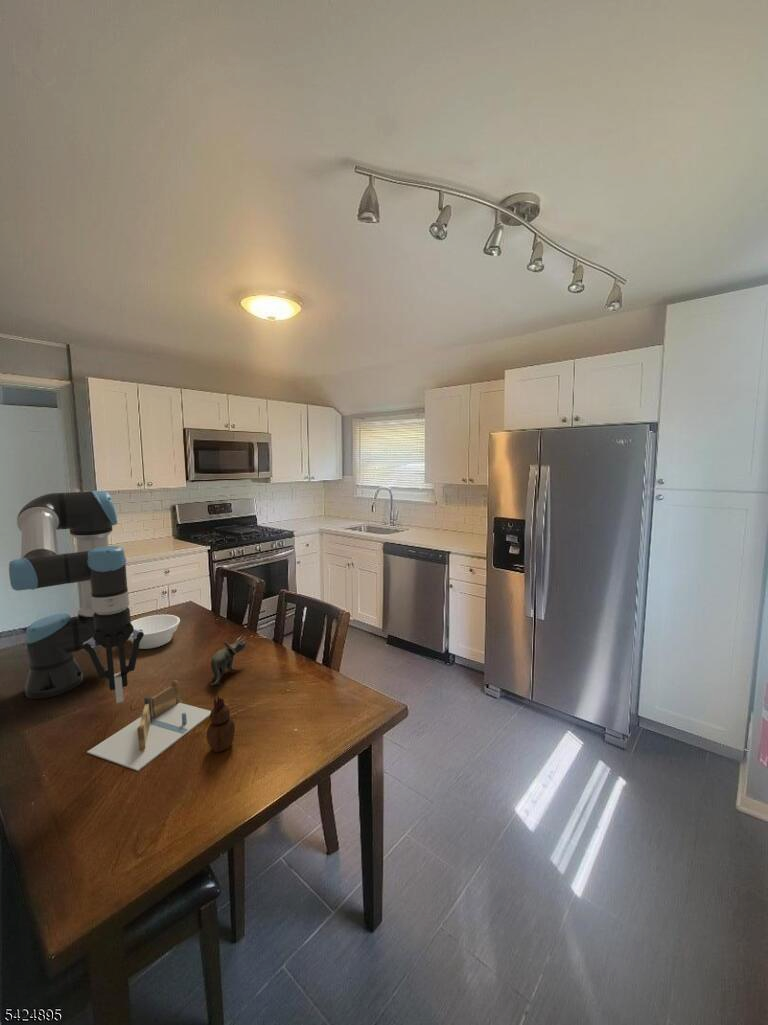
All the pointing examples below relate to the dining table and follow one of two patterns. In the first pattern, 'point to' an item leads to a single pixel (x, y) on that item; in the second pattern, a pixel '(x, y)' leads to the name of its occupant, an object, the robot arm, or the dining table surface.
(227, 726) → the wooden figurine
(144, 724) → the fence panel
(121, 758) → the card
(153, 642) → the bowl
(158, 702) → the fence fixed
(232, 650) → the dinosaur figurine
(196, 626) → the dining table surface
